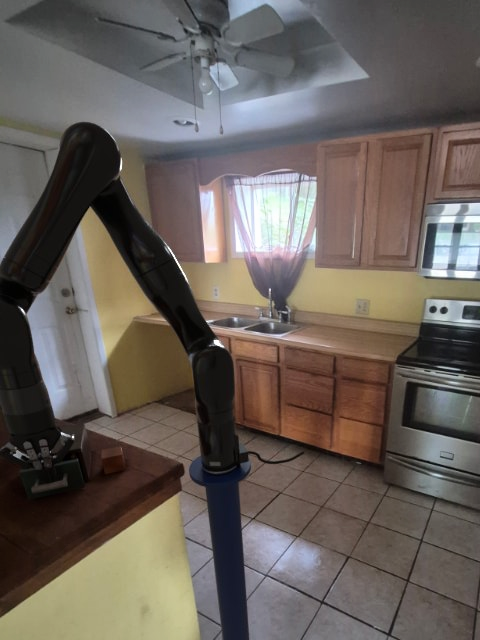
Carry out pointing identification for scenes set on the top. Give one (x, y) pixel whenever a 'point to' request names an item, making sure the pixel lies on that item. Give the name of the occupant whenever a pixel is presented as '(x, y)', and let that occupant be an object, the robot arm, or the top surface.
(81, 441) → the cabinet
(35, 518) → the top surface
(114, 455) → the block
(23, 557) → the top surface
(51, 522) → the top surface
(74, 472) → the drawer
